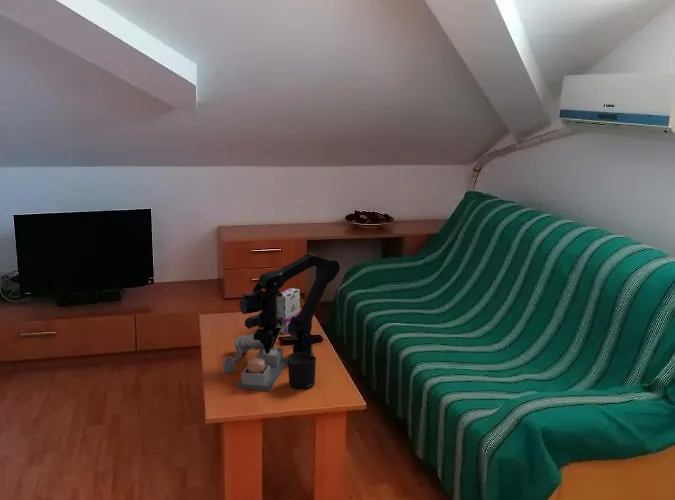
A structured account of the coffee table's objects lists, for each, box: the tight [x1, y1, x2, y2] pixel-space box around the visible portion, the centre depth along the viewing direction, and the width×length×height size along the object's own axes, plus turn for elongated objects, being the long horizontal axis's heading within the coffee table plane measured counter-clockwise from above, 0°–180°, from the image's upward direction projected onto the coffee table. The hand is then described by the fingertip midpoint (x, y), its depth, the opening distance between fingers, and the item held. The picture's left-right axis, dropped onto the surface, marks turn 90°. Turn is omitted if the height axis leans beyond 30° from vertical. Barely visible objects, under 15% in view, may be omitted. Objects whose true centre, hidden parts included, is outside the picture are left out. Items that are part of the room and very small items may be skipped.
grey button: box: [262, 347, 278, 356], centre depth 244 cm, size 6×6×4 cm
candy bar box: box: [277, 287, 301, 335], centre depth 279 cm, size 11×5×16 cm, turn 149°
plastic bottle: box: [233, 332, 264, 354], centre depth 250 cm, size 6×7×20 cm
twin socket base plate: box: [236, 347, 288, 392], centre depth 237 cm, size 11×24×6 cm, turn 169°
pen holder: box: [287, 352, 317, 391], centre depth 229 cm, size 9×9×10 cm
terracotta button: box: [247, 357, 265, 374], centre depth 229 cm, size 6×6×4 cm
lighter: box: [222, 348, 243, 374], centre depth 240 cm, size 7×2×8 cm, turn 117°
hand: (269, 350), depth 244 cm, fingers open, 4 cm apart
